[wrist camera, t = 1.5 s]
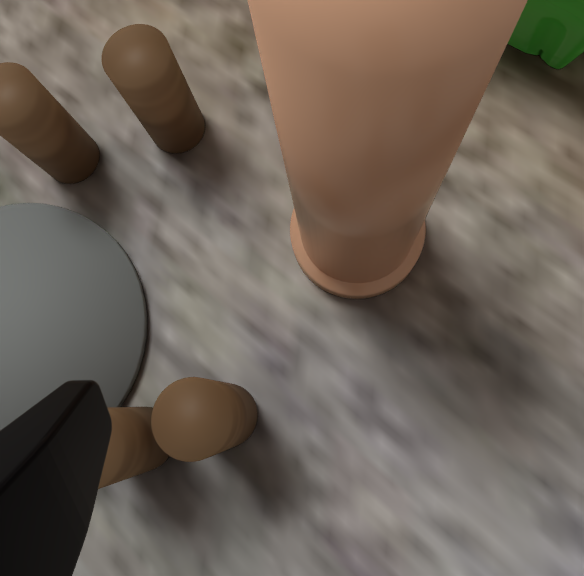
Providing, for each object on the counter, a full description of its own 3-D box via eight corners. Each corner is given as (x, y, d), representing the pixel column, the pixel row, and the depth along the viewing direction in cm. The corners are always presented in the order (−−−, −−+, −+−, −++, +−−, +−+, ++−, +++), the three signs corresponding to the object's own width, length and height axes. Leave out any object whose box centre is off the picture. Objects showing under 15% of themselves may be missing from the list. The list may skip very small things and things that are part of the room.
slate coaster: (182, 412, 20) (179, 413, 20) (-83, 515, 20) (-91, 517, 20) (105, 169, 23) (101, 165, 23) (-131, 261, 23) (-139, 258, 23)
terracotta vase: (442, 270, 21) (642, 15, 7) (319, 317, 21) (284, 155, 7) (390, 158, 22) (476, -243, 8) (274, 203, 22) (170, -124, 8)
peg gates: (315, 415, 20) (308, 418, 15) (126, 488, 20) (58, 516, 15) (191, 86, 24) (153, 3, 19) (30, 148, 24) (-50, 82, 19)
